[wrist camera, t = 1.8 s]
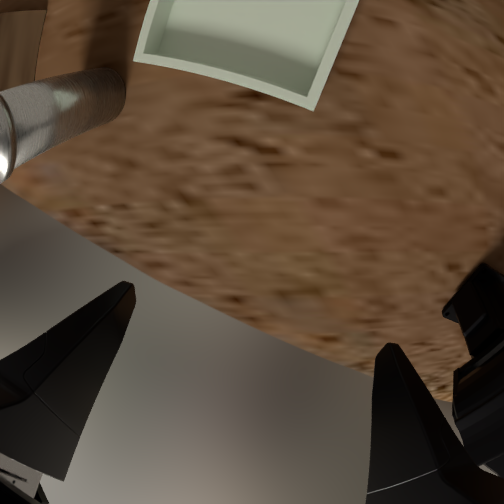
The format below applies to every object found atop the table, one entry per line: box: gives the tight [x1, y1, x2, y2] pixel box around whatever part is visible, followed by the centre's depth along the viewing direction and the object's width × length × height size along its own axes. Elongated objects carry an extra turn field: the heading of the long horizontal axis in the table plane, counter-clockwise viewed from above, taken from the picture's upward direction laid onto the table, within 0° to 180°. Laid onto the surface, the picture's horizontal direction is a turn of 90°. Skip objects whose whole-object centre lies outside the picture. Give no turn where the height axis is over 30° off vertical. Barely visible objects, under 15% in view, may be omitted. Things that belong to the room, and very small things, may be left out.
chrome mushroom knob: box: [0, 68, 126, 183], centre depth 14 cm, size 5×5×11 cm
